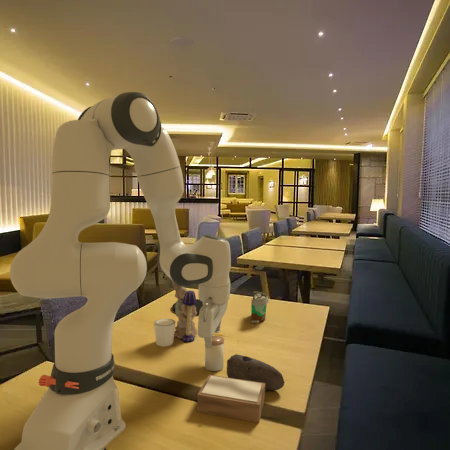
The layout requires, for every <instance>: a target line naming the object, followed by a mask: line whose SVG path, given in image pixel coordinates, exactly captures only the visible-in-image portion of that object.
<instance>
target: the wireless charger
mask: <svg viewBox="0 0 450 450" xmlns="http://www.w3.org/2000/svg"><path fill="white" fill-rule="evenodd" d="M196 301H197V303H196V305H194V306H195V307H196V312H197V315H196V316H195V317H197V316H198V317H199V312H200V309H201V307H202V306H203V302H202V301H200V300H199V298H198V299H197V298H196ZM175 309H176V302H174V303H173V304H172V311H173V313H175V314H176V312H175Z"/></svg>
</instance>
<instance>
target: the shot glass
mask: <svg viewBox="0 0 450 450" xmlns="http://www.w3.org/2000/svg"><path fill="white" fill-rule="evenodd" d="M153 327H154V335H155V345H157V346H158V347H169V346H172V345H174V340H175V335H174V332H175V331H176V330H175V327H176V321H175V320H174V319H172V318H160V319H157V320H155V321H154V322H153Z"/></svg>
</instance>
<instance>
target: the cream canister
mask: <svg viewBox="0 0 450 450" xmlns="http://www.w3.org/2000/svg"><path fill="white" fill-rule="evenodd" d="M212 340H213V344H212V347H211V348H206V347H205V346H204V369H206V370H207V371H211V372H217V371H221V370H223V368H224V358H225V357H224V353H225V352H224V350H225V349H224V348H225V347H224V345H225V344H224V343H225V338H224V337H223V336H220V335H212Z"/></svg>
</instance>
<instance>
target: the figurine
mask: <svg viewBox="0 0 450 450" xmlns="http://www.w3.org/2000/svg"><path fill="white" fill-rule="evenodd" d="M171 284H172V287H173V289H174V291H175V294H174V297H175V299H177V300H176V301H175V303H176V309H175V312H176V313H175V312H174V313H175V316H176V317H177V318H178V319H177V322H176V326H175V332H174V337H176V338H178V339H180V340H182V337H183V336H184V335H186V322H187V321H186V318H187V305H184V304H183V299H184V296H185V292H186V291H188V290H187V287H182V286H179V285H177V284H176V283H174V282H173V281H172V280H171ZM191 313H192V316H191V318H192V320H191V330H190V331H191V335H193V337H194V338H195V337H196V336H197V335H198V328H196V324H195V321H194V318H195V317H197V316H196V315H197V312H196V307H195V306H194V305H192V312H191Z"/></svg>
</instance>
